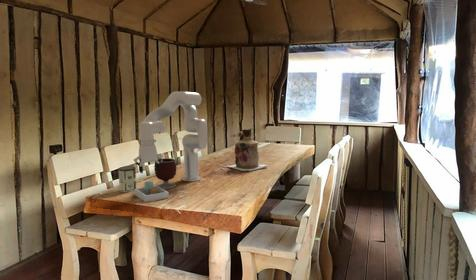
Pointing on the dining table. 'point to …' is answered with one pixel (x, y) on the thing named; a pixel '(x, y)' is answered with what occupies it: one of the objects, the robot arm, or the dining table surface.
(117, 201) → the dining table surface
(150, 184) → the teal rounded capsule
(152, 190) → the walnut cube
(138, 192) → the grey tote
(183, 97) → the robot arm
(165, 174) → the mate gourd
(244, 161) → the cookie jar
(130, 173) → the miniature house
